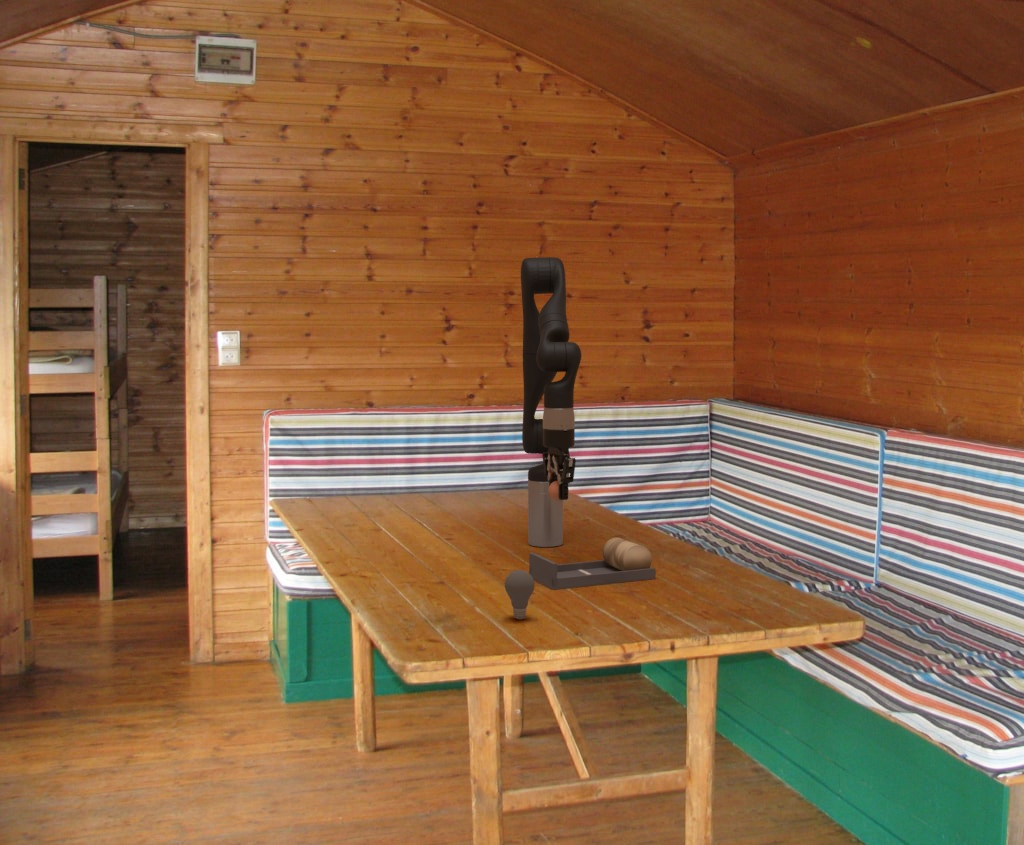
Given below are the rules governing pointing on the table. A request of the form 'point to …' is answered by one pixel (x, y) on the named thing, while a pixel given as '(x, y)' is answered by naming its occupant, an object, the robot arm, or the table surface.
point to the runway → (581, 573)
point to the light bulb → (519, 591)
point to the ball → (554, 490)
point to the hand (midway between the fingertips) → (558, 497)
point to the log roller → (626, 555)
